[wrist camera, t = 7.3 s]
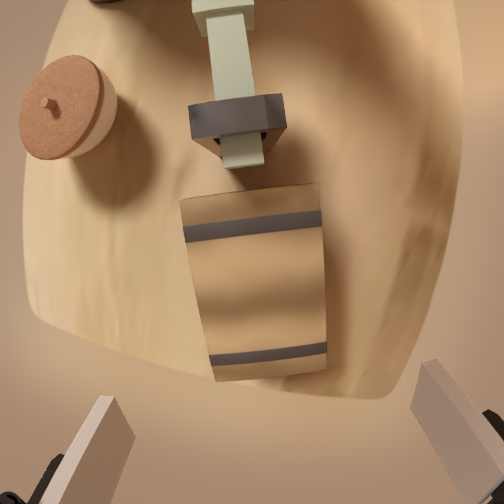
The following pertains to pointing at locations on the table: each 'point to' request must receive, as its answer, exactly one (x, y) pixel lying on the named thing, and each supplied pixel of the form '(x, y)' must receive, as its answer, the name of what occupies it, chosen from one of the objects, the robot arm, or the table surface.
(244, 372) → the lid
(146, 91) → the table surface
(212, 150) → the keeper
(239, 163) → the bolt
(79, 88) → the lidded jar
